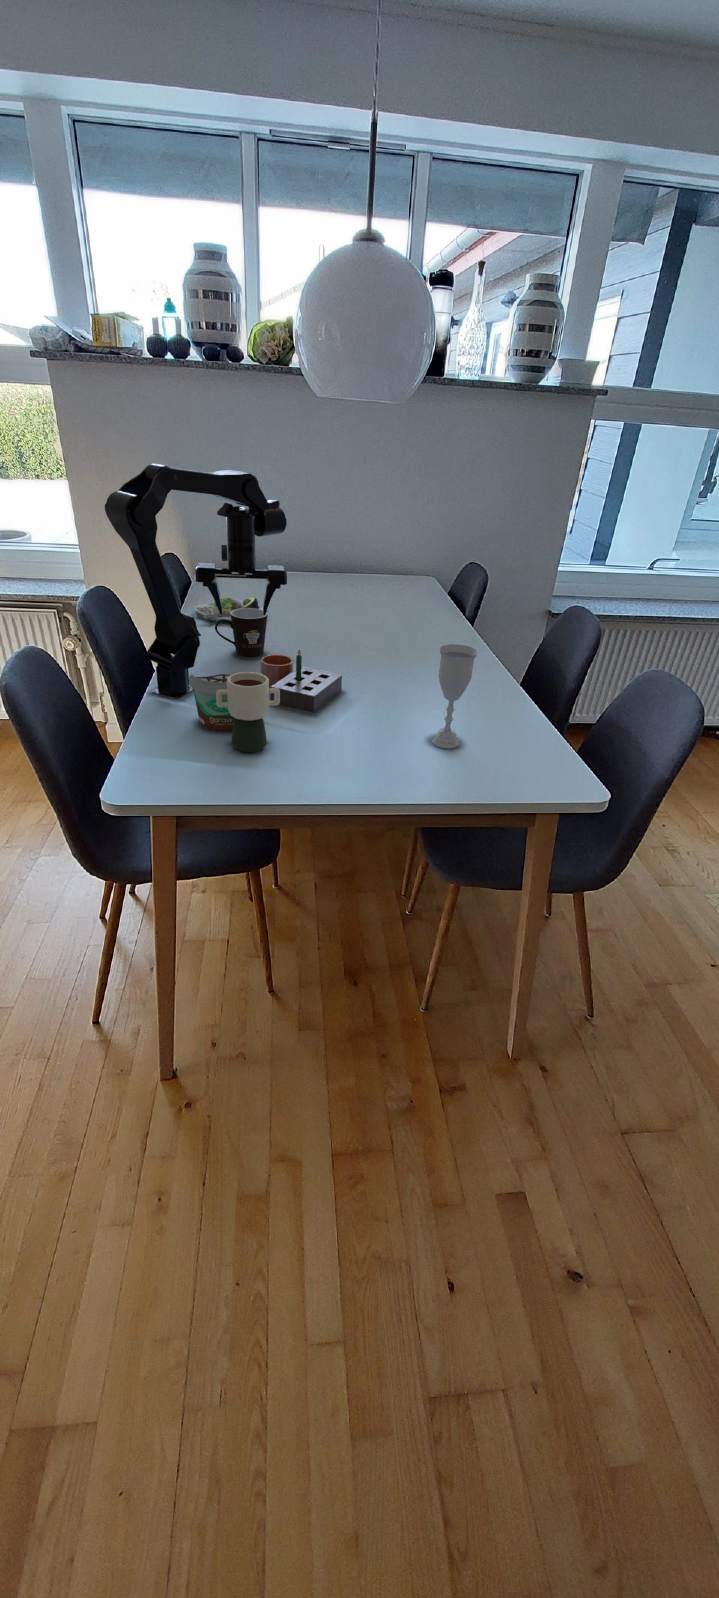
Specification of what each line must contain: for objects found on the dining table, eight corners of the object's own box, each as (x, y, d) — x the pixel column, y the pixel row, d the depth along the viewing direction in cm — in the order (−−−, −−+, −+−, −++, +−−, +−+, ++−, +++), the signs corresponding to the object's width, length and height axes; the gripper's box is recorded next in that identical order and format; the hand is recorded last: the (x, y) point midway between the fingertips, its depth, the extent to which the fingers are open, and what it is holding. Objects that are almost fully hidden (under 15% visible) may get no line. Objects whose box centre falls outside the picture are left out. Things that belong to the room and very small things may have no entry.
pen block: (341, 692, 148) (342, 674, 146) (313, 714, 137) (314, 696, 135) (300, 683, 151) (300, 665, 149) (270, 704, 140) (270, 686, 138)
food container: (193, 736, 126) (190, 685, 121) (191, 722, 131) (187, 672, 126) (260, 732, 129) (260, 682, 124) (256, 718, 134) (255, 669, 129)
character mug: (276, 737, 128) (277, 670, 121) (282, 754, 122) (282, 685, 115) (217, 739, 125) (214, 672, 118) (219, 757, 119) (216, 687, 113)
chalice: (441, 730, 135) (453, 641, 125) (470, 742, 131) (485, 651, 122) (419, 742, 130) (431, 650, 120) (450, 754, 126) (463, 660, 117)
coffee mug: (271, 650, 168) (271, 609, 163) (263, 662, 161) (263, 620, 156) (224, 646, 169) (223, 605, 164) (214, 657, 162) (212, 615, 156)
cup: (283, 690, 147) (283, 667, 144) (255, 684, 149) (255, 661, 146) (298, 680, 152) (298, 658, 150) (270, 674, 155) (270, 652, 152)
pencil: (299, 697, 144) (300, 650, 139) (294, 696, 145) (295, 649, 139) (301, 696, 145) (303, 648, 140) (297, 694, 146) (297, 647, 140)
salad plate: (226, 630, 179) (225, 613, 177) (178, 615, 187) (177, 598, 185) (275, 615, 193) (275, 599, 191) (228, 602, 201) (228, 586, 199)
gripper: (285, 533, 149) (284, 605, 157) (197, 529, 146) (201, 602, 154) (287, 543, 139) (286, 619, 147) (193, 539, 136) (197, 617, 145)
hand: (242, 614), depth 148 cm, fingers open, 9 cm apart
